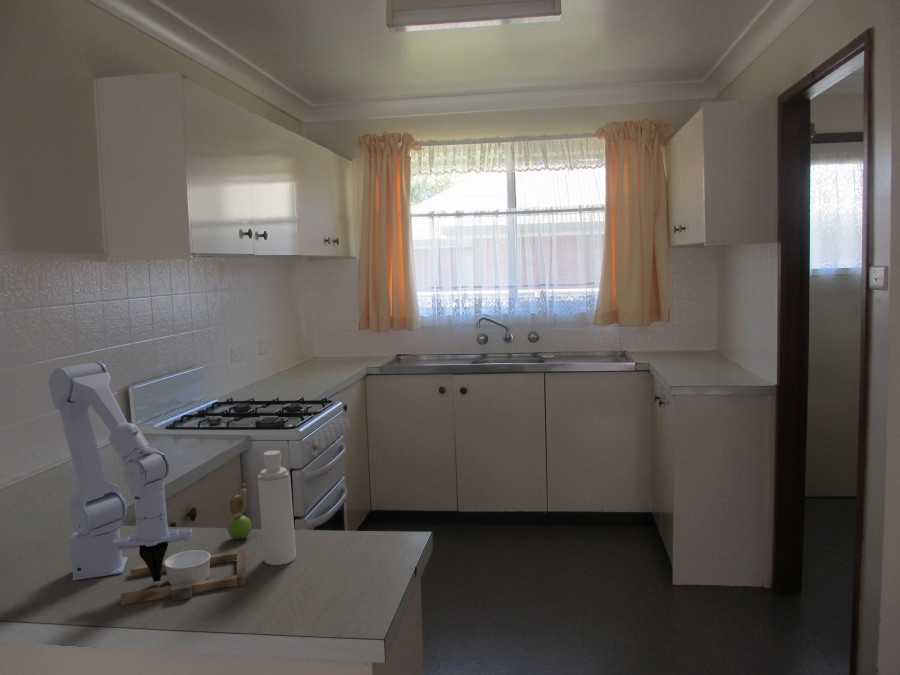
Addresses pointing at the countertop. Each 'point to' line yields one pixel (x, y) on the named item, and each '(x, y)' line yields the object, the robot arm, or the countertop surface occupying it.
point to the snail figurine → (239, 517)
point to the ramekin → (188, 567)
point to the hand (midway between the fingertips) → (157, 579)
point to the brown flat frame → (188, 589)
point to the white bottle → (276, 511)
